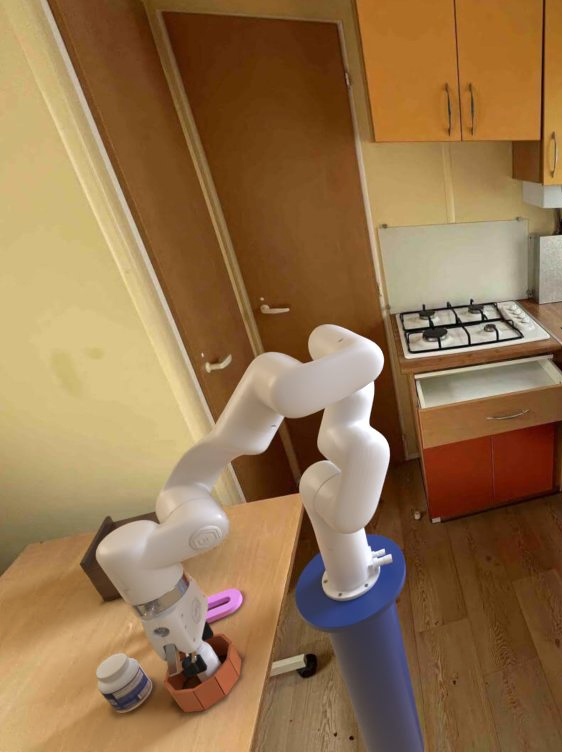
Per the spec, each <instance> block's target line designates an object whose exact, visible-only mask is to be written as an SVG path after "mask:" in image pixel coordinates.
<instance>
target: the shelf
mask: <svg viewBox="0 0 562 752" xmlns="http://www.w3.org/2000/svg"><path fill="white" fill-rule="evenodd" d="M140 520H149V521H153V522H155V523H157V524H160V522H159V520H158V517H157V515H156V510H155V511H152V512H149V513H148V512H147V513H143V514H139V515H135V516H132V517H127V518H124V519H120V520H115V521H114V520H113V518H112V516H110V515H107V516H105V518H104V519H103V520H102V523H101V525H100V526H99V528H98V530H97V532H96V534H95V535H94V537H93V539H92V541H91V542H90V545H89V546H88V548H87V550H86V551H85V553H84V555H83V557H82V559H81V560H80V562H79V566H80V567H81V569H82V570H83V572H84V574H85V575H86V576H87V577H88V579H89V580H90V582H91V583H92V585H93V586H94V588H95V589H96V591H97V592H98V594H99V596H100V597H101V598H102V600H103V602H108V601H111V600H115V599H118V598H123V597H122V596H121V594H120V593H119V591H118V590H117V589H116V587H115V586H114V585H113V583H112V582H111V580H110V579H109V577H108V576H107V575H106V573H105V572H104V570H103V569H102V567H101V566H100V565H99V563H98V561H97V559H96V550H97V548H98V545H99V544H100V542H101V541H102V540H103V539H104V538H105V537H106V536H107V535H108V534H110V533H111V532H113V531H114V530H116V529H117V528H119V527H121V526H123V525H126V524H128V523H131V522H135V521H140Z"/></svg>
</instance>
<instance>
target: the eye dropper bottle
mask: <svg viewBox="0 0 562 752" xmlns="http://www.w3.org/2000/svg"><path fill="white" fill-rule="evenodd" d="M196 654H197V655H198V654H200V655H201V657H202V658H203V660H204V662H205V663H206V665H207V670H206V671H204V672H202V673H199V674H197V675H196V677H197V678H198V679H199V680H200V682H201V684H202V683H203V682H205V681H206V680H208V679H209V678H211V677H213V676H214V675H215V673H216V672H217V671H218V669H219V668H220V667H221V665H222V664H223V663H222V662H221V661H220V659H219V656H216V654H215V652H214V651H213V649H212V647H211V646H210V645H209V644H208V643H207V642H204V641H203V640H202V639H201V642H200V645H199V647H198V648H197V650H196ZM187 656H189V654H188V653H186V657H187Z"/></svg>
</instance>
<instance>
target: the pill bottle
mask: <svg viewBox="0 0 562 752" xmlns="http://www.w3.org/2000/svg"><path fill="white" fill-rule="evenodd" d="M95 676H96V678H97V679H98V682H97V689H98V692H99V693H101V695H102V696H103V698H104V699H105V700H106V701H107V702H108V703H109V705H110V706H111V707H112V708H113V709H114V710H115V712H117V713H121V714H122V713H129V712H131V711H133V710H134V709H137V708H138V707H140V705H142V704H143V703H144V702H145V701H146V700H147V698H148V697H149V695H150V694H151V692H152V689H153V682H152V680H151V679H150V677H149V675H148V674H147V672H146V671H145V670H144V669H143V667H142V665H141V664H140V662H139V661H138V660H137V659H136V658H134V657H128V656H127V655H126V653H124V652H117V653H115V654H112V655H110V656H109V657H107V658H106V659H105V660H103V661H102V662H101V663H100V664H99V666H98V667H97V669H96V671H95Z"/></svg>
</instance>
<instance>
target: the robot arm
mask: <svg viewBox="0 0 562 752" xmlns="http://www.w3.org/2000/svg"><path fill="white" fill-rule="evenodd" d="M307 345H308V346H307V347H308V352H309V355H310V357H311V359H312V360H311V361H309V362H305V363H304V362H301V361H300V360H298V359H296V358H295V357H292V356H291V355H289V354H286V353H282V352H279V351H278V352H276V351H268V352H264V353H261V354H259V355H258V356H256V357H255V358H254V359H253V360H252V361H251V362H250V364H249V365H248V367H247V368H246V370H245V372H244V373H243V375H242V377H241V379H240V380H239V382H238V384H237V385H236V387H235V389H234V391H233V393H232V394H231V397H230V398H229V400H228V402H227V403H226V405H225V407H224V409H223V410H222V412H221V414H220V416H219V417H218V419H217V420H216V423H215V424H214V426H213V427H212V429H211V430H210V431H209V433H208V434H206V435H204V436H202V437H201V438H200V439H199V440H198V441H197V442H195V443H194V444H193V445H192V446H190V447H189V448H188V449H187V450H186V451H185V452H184V453H183V454H182V455H181V456H180V457H179V459H178V460H177V461H176V463H175V464H174V466H173V467H172V469H171V471H170V473H169V474H168V476H167V478H166V480H165V481H164V483H163V485H162V486H161V488H160V491H159V493H158V495H157V498H156V502H155V511H156V515H157V517H158V520H159V522H160V524H157V523H155V522H153V521H149V520H140V521H135V522H131V523H128V524H126V525H123V526H121V527H119V528H117V529H116V530H114V531H113V532H111V533H110V534H108V535H107V536H106V537H105V538H104V539H103V540H102V541H101V542H100V544H99V545H98V548H97V550H96V559H97V561H98V563H99V565H100V566H101V567H102V569H103V570H104V572H105V573H106V575H107V576H108V577H109V579H110V580H111V582H112V583H113V585H114V586H115V587H116V589H117V590H118V591H119V593H120V594H121V596H122V597H121V598H122V599H123V600H124V602H125V604H126V605H127V606H128V608H129V609H130V611H131V612H132V613H133V614H134V617H136V618H138V619H140V623H141V627H142V628H143V630H144V633H145V635H146V638H147V640H148V641H149V643H150V645H151V647H152V649H153V650H154V651H155V653H156V654H157V656H158V657H159V658H160V659H161V660H162V661H164V662H165V663H166V665H167V669H168V674H169V677H171V676H173V675H176V674H179V673H180V672H181V673H182V674H183V676H184V677H185V678H187V679H189V678H192V677H195V676H197V674H199V673H202V672H204V671H206V670H207V665H206V663H205V662H204V660H203V658H202V657H201V655H200V654H198V655H197V654H196V650H197V648H198V647H199V645H200V642H201V639H202V640H203V641H205V640H207V639H210V638H212V637H213V635H214V634H215V633H214V631H213V629H212V627H211V626H210V623H208V622H207V621H205V620H206V615H207V611H209V609H208V600H207V596H206V594H205V593H204V591H203V590H202V589H201V587H200V585H199V584H198V583H197V581H196V580H195V579H194V577H193V576H192V575H191V574H190V573H188V572H187V571H186V569H185V567H184V565H183V564H182V562H183V561H185V560H186V561H187V560H188V559H191V558H194V557H197V556H199V555H202V554H204V553H207V552H209V551H210V550H212V549H215V548H216V547H217V546H219V545H220V544H221V543H222V542H223V541H225V540H226V538H227V537H228V535H229V532H230V531H231V522H230V519H229V517H228V515H227V514H226V512H225V511H224V509H223V508H222V507H221V505H220V504H219V503H218V501H217V500H216V499H215V497H214V495H212V491H213V489H214V487H215V485H216V483H217V481H218V480H219V478H220V476H221V474H222V473H223V472H224V470H225V469H226V468H227V466H228V465H230V463H231V462H232V461H233V460H235V459H236V458H238V457H241V456H243V455H246V456H255V455H261V454H262V453H264V452H265V451H266V450H267V449H268V448H269V446H270V445H271V443H272V440H273V439H274V437H275V436H276V434H277V431H278V430H279V427H280V426H281V424H282V422H283V420H284V419H285V418H287V419H299V418H304V417H307V416H310V415H312V414H315V413H317V412H320V411H322V410H323V409H324V411H323V416H322V419H321V423H320V427H319V430H318V435H317V445H316V446H317V449H318V451H319V453H321V455H323V456H324V457H325V458H326V460H320V461H317V462H314V463H313V464H311V465H310V466H309V467H307V468H306V469H305V470H304V472H303V474H302V476H301V477H300V480H299V486H298V491H299V496H300V500H301V501H302V504H303V507H304V509H305V511H306V513H307V516H308V518H309V520H310V523H311V525H312V528H313V531H314V534H315V539H316V542H317V545H318V549H319V553H320V552H321V555H322V559H323V562H324V566H325V569H326V571H325V572H324V575H323V578H322V587H323V590H324V592H325V594H326V595H327V596H328V597H329V598H331V599H333V600H337V601H347V600H352V599H355V598H357V597H359V596H361V595H363V594H364V593H366V592H367V591H368V590H369V589H371V587H372V586H373V585H374V584H375V582H376V581H377V579H378V577H379V573H380V566H382V565H386V564H389V563H392V562H393V561H392V556H391V554H389V555H386V554H385V549H382V550H379V551H377V552H374V551H373V552H371V547H370V546H369V547H368V543H367V539H366V534H367V533H366V530H365V527H366V526H367V525H368V523H370V521H371V520H372V519H373V517H374V515H375V513H376V511H377V508H378V505H379V502H380V498H381V494H382V490H383V486H384V483H385V479H386V475H387V472H388V468H389V463H390V457H391V454H390V453H391V452H390V446H389V443H388V441H387V439H386V437H385V436H384V435H383V434H382V433H380V432H379V431H378V430H376V429H375V428H373V427H372V426H371V425H370V417H371V412H372V407H373V402H374V396H375V380H377V378H378V377H379V375H380V374H381V372H382V371H383V368H384V363H385V358H384V357H385V356H384V354H383V351H382V350H381V348H380V346H379V345H378V344H376V342H374V341H373V340H371V339H369V338H366V337H364V336H362V335H359V334H358V333H356V332H353V331H351V330H349V329H347V328H345V327H342V326H339V325H336V324H327V323H325V324H320V325H318V326H317V327H315V328H314V329H313V330H312V331H311V333H310V335H309V338H308V343H307ZM383 555H386V556H384V557H381V558H378V559H377V557H379V556H383ZM182 653H188V654H189V656H187V657H185V658H182V659H180V656H179V654H182Z"/></svg>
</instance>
